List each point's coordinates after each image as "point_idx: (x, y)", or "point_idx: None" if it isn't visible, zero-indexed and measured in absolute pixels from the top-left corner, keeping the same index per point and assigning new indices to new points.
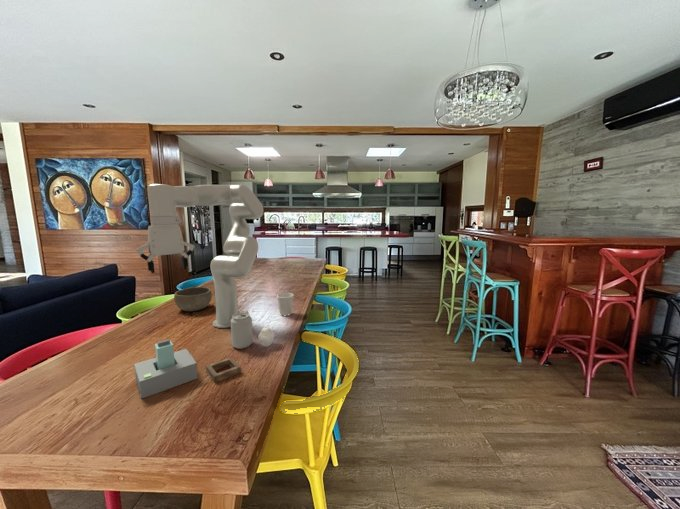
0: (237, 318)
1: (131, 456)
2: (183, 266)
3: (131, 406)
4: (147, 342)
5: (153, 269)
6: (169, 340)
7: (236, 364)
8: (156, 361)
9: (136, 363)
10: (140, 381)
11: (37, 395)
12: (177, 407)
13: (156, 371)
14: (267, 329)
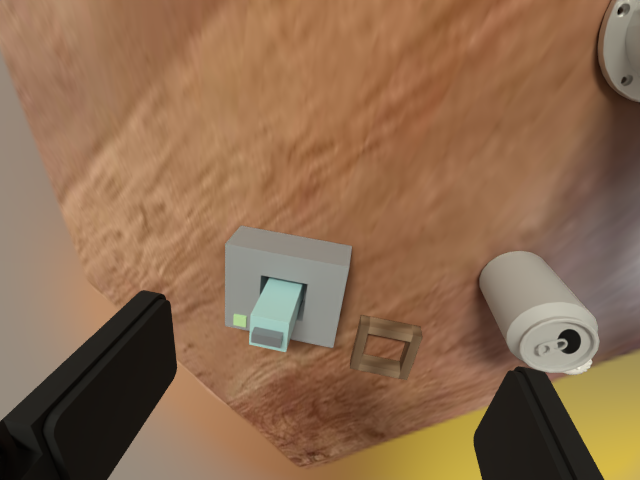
0: (524, 359)
1: (214, 393)
2: (490, 451)
3: (223, 309)
4: None
5: (147, 409)
6: (279, 347)
7: (407, 367)
8: (265, 286)
9: (230, 246)
10: (227, 325)
11: (70, 124)
12: (278, 363)
13: None
14: (572, 373)
